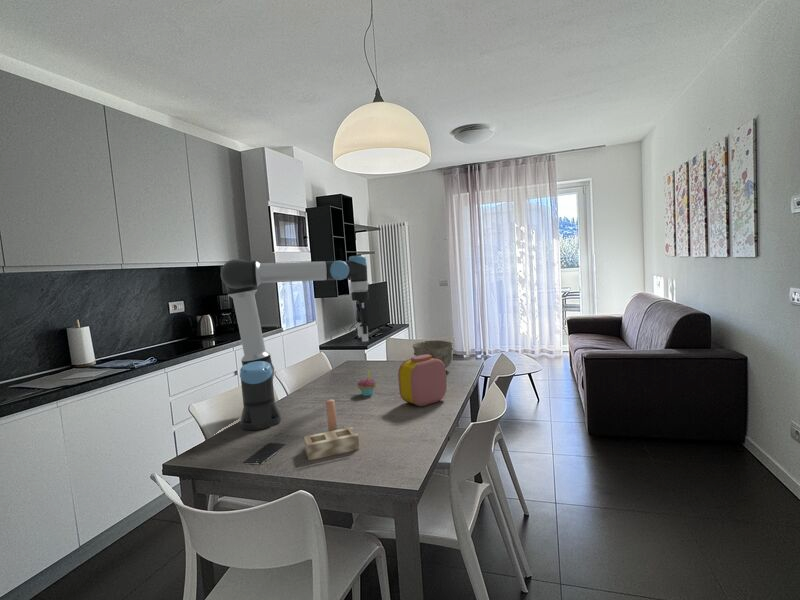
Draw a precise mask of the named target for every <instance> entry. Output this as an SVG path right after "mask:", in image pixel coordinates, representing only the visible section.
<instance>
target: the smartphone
mask: <svg viewBox="0 0 800 600" xmlns="http://www.w3.org/2000/svg"><path fill="white" fill-rule="evenodd" d="M286 445H287V444H286V443H281V442H280V443H279V442H278V443H277V442H269V443H266V445H264V446H263V447H261V448H260V449H259V450H257V451H256V452H254V453H253V454H252V455H250V456H249V457H247V458H246V459H244V460H243V462H242V464H243V463H259V464H261V463H264V462H265V461H266V460H267V459H269V458H270V457H272V456H273V455H274V456H276V453H277V452H278V451H280V450H281V449H282V448H284V447H285V446H286ZM274 456H273V457H274ZM273 457H272V458H273ZM270 459H271V458H270ZM270 459H269V460H270ZM266 462H267V461H266ZM266 462H265V463H266ZM265 463H264V464H265Z"/></svg>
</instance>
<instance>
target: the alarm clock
mask: <svg viewBox="0 0 800 600" xmlns="http://www.w3.org/2000/svg"><path fill="white" fill-rule="evenodd" d="M397 373H398V374H397V376H398V391H399V395H400V398H401V399H402V400H403V401H404V402H406V403H411V404H414V405H416V406H417V407H425V406H428V405H431V404H434V403H435V404H436V403H437V402H440V401H441V400H443V399H444V396H445V395H446V392H447V385H448V384H447V368H445V365H444V364H443V362H442V361H441V360H439V359H433V358H432V355H428V354H425V355H420V356H415V355H414V356H412V357H410V358H409V359H406V360H404V361H403V362H402V363H401V364H400V366H399V369H398V372H397Z"/></svg>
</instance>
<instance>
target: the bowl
mask: <svg viewBox="0 0 800 600" xmlns="http://www.w3.org/2000/svg"><path fill="white" fill-rule="evenodd" d="M453 345H454V344H453V342H451V341H446V340H437V339H436V340H425V341H421V342H415V343H413V344H412V348H413V351H414V353H413V355H414V357H415V356H420V355H425V354H428V355H432V358H433V359H439V360H441V361H442V362H443V364H444V365H445V369H447V368H448V367H449V366H450V364H451V363H452V360H453V350H454V348H453Z"/></svg>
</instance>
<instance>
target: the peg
mask: <svg viewBox="0 0 800 600" xmlns="http://www.w3.org/2000/svg"><path fill="white" fill-rule="evenodd" d="M325 408H326V416H327V417H326V419H327V420H326V421H327V426H328V427H327V430H328V431H334V430H337V428H338V425H337V424H338V423H337V414H336V412H337V411H336V403H335V399H331V398H330V399H327V400H325Z"/></svg>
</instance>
